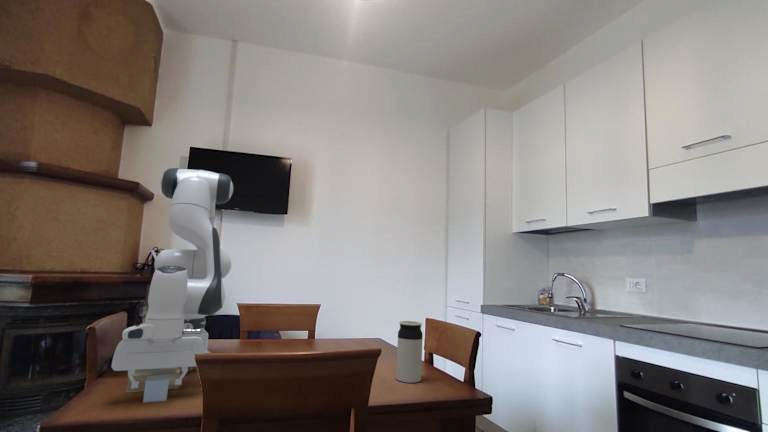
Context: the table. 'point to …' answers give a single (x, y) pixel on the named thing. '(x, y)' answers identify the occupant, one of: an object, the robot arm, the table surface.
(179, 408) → the table surface
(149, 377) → the slate brick
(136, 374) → the cream stepped block
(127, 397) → the table surface
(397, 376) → the travel mug
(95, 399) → the table surface
